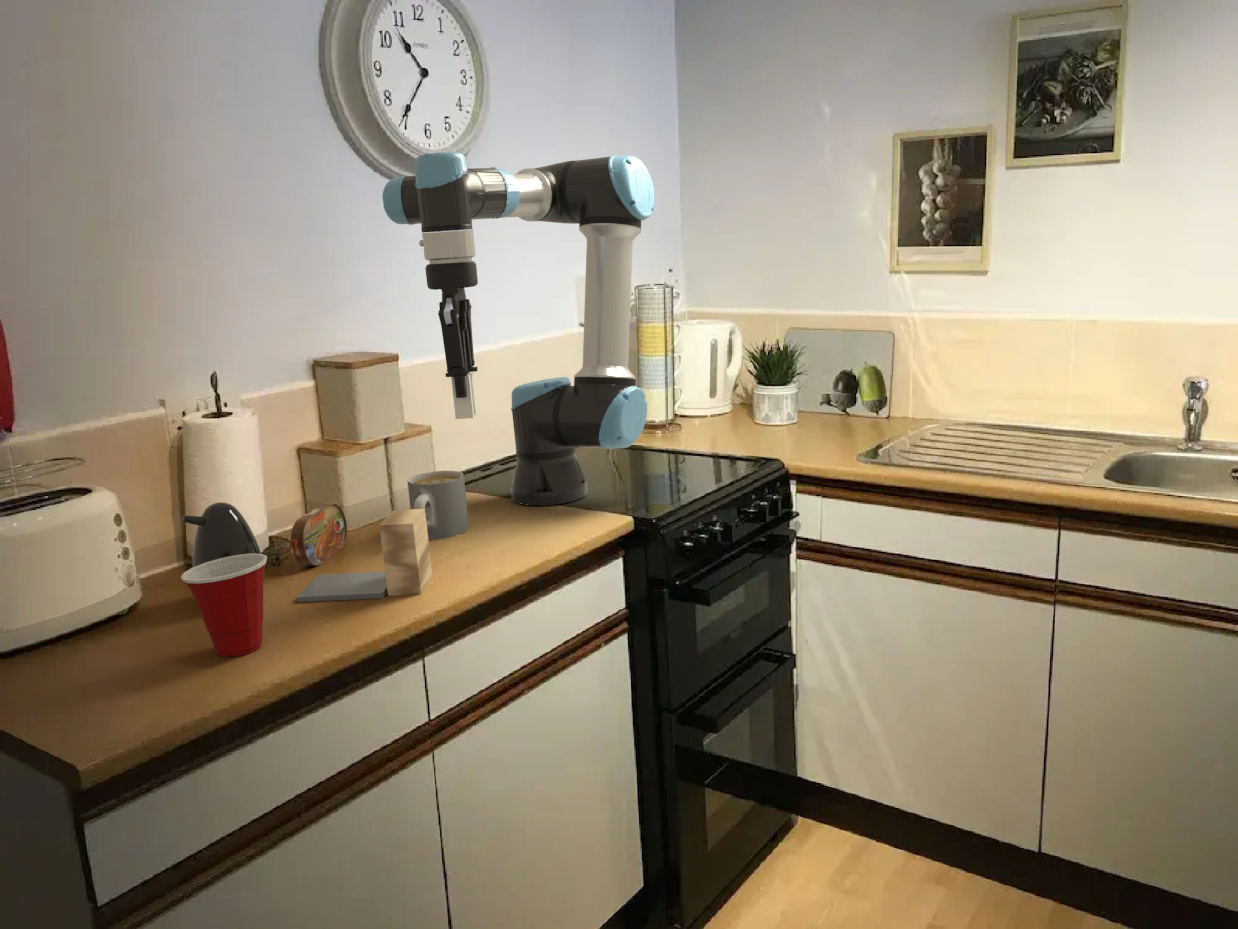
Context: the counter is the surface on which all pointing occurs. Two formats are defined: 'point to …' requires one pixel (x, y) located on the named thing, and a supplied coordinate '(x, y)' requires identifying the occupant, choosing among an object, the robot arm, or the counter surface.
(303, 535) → the tin
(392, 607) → the counter surface
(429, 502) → the coffee mug
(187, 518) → the pump dispenser
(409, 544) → the oak block
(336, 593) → the plate
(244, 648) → the plastic cup
